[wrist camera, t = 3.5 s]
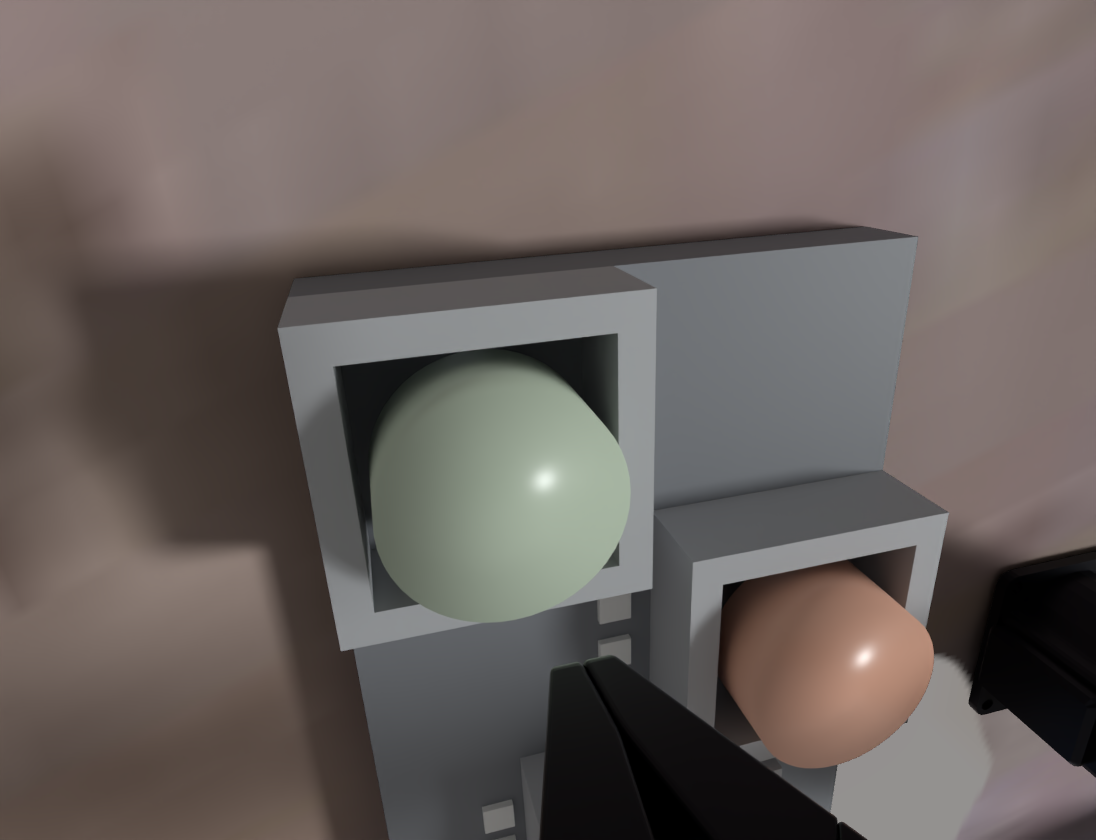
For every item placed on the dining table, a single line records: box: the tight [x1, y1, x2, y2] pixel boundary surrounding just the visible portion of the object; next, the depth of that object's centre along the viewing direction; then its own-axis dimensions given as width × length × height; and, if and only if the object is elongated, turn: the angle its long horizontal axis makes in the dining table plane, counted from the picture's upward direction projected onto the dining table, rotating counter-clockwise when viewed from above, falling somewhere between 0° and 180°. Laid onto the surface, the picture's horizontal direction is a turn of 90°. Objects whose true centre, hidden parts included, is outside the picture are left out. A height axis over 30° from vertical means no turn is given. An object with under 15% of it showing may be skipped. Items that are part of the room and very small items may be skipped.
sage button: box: [368, 349, 631, 623], centre depth 14 cm, size 5×5×2 cm
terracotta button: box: [717, 560, 934, 768], centre depth 19 cm, size 5×5×2 cm
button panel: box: [278, 227, 949, 840], centre depth 20 cm, size 15×21×4 cm
